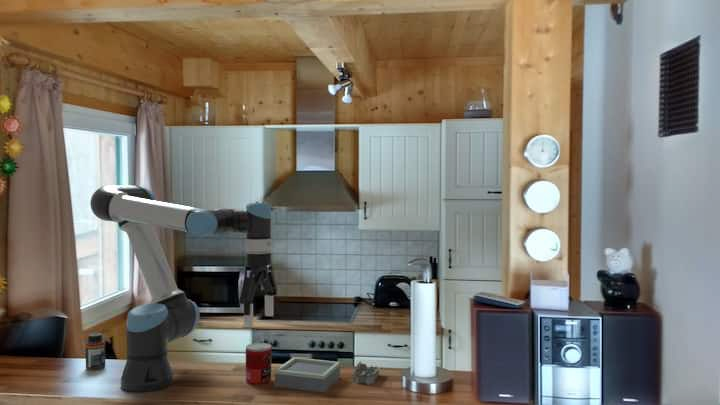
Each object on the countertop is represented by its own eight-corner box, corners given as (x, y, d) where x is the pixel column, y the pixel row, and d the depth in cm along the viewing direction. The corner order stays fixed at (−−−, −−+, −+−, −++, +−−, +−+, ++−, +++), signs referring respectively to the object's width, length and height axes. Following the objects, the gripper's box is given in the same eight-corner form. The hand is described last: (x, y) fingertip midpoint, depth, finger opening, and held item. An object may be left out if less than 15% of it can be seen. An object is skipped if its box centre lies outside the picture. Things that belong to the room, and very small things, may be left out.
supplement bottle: (87, 366, 191) (87, 332, 190) (107, 364, 192) (106, 331, 192) (83, 371, 185) (83, 337, 185) (103, 370, 186) (103, 336, 186)
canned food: (266, 386, 172) (266, 350, 172) (241, 384, 174) (241, 348, 174) (274, 377, 180) (275, 343, 180) (251, 376, 182) (251, 341, 181)
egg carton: (359, 373, 186) (359, 360, 186) (381, 375, 184) (381, 362, 184) (349, 383, 176) (349, 370, 176) (372, 386, 174) (373, 372, 174)
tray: (274, 386, 172) (274, 370, 172) (293, 372, 185) (293, 357, 185) (323, 392, 167) (324, 375, 167) (339, 377, 181) (339, 362, 180)
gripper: (250, 257, 163) (250, 330, 163) (287, 248, 187) (287, 312, 187) (227, 256, 165) (227, 329, 166) (266, 248, 189) (266, 311, 189)
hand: (259, 320), depth 176 cm, fingers open, 13 cm apart
